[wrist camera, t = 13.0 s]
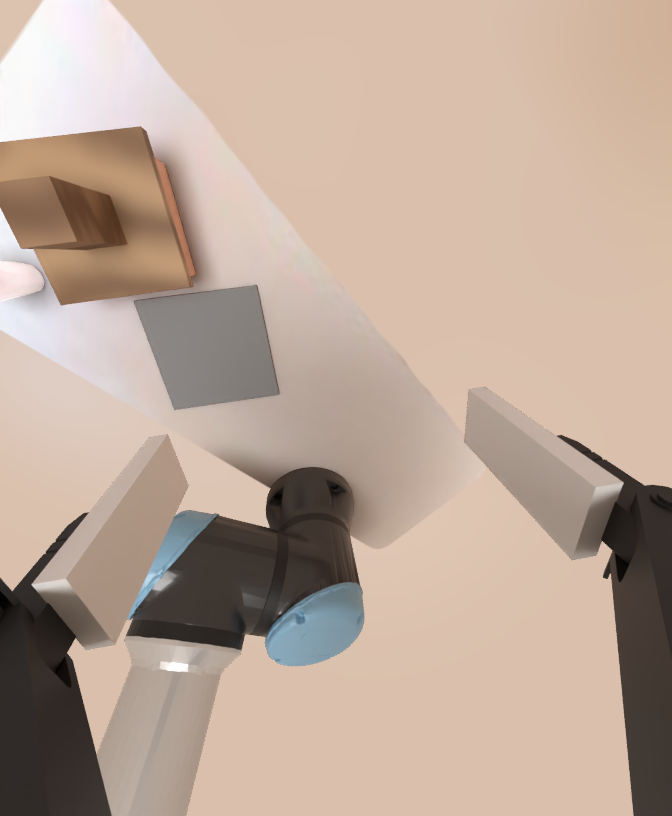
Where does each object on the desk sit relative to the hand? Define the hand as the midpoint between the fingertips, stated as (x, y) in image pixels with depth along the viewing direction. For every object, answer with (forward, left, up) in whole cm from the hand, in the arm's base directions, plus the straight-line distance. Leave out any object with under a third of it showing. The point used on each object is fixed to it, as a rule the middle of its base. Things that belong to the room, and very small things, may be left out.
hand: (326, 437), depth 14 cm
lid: (+12, +18, -26) cm, 34 cm away
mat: (-3, +13, -32) cm, 34 cm away
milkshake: (+8, +31, -32) cm, 45 cm away
